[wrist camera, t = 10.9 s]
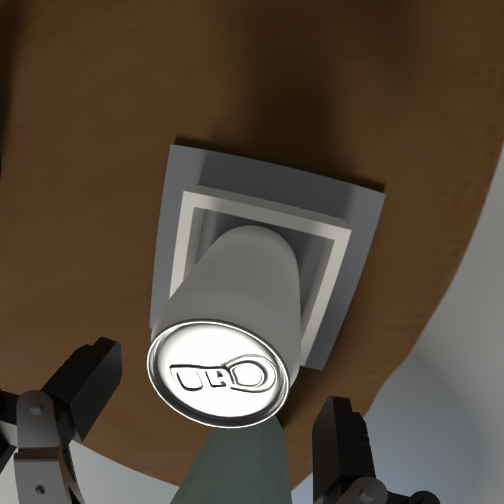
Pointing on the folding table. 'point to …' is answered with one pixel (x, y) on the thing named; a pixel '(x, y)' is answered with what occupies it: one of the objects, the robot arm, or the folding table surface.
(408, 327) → the folding table surface
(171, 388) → the can
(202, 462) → the disposable coffee cup
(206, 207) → the board
